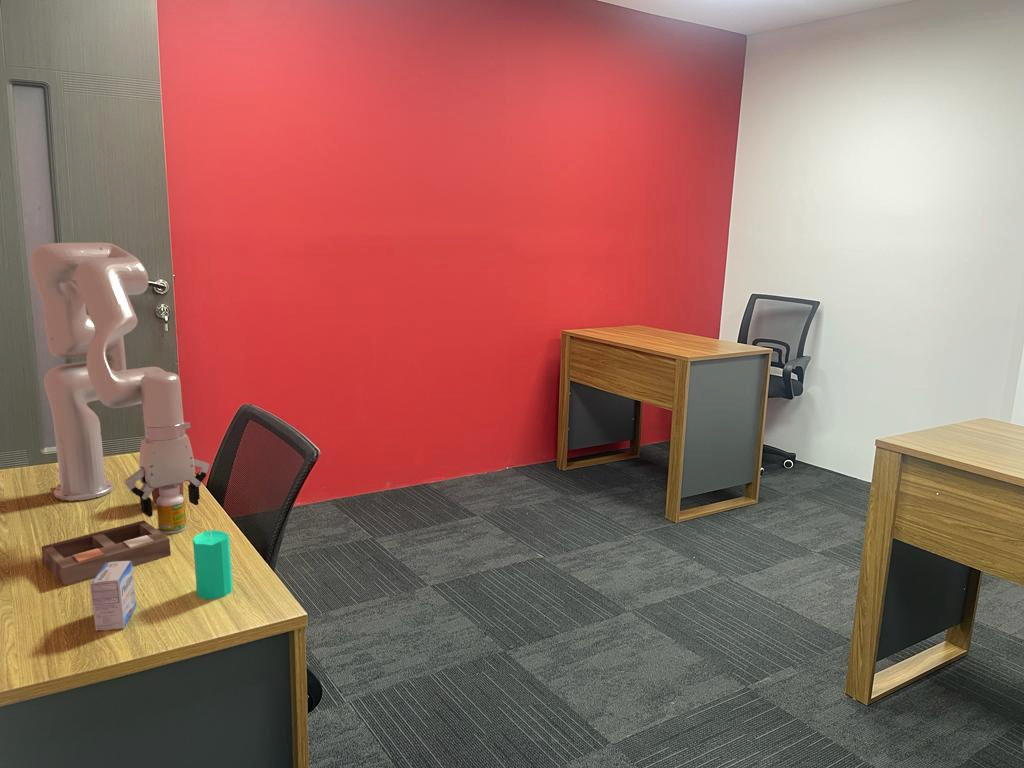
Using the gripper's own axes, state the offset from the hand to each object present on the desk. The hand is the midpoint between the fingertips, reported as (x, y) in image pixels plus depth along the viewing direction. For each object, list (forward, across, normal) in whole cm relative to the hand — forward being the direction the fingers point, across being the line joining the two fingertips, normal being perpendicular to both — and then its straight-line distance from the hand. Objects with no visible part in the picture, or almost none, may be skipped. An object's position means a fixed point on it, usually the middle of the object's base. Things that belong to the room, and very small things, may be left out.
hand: (171, 509), depth 163 cm
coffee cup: (+5, -6, -17) cm, 19 cm away
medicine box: (+5, +22, +31) cm, 38 cm away
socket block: (+5, +15, +6) cm, 17 cm away
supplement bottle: (+5, 0, 0) cm, 5 cm away
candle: (+5, +6, +33) cm, 34 cm away
